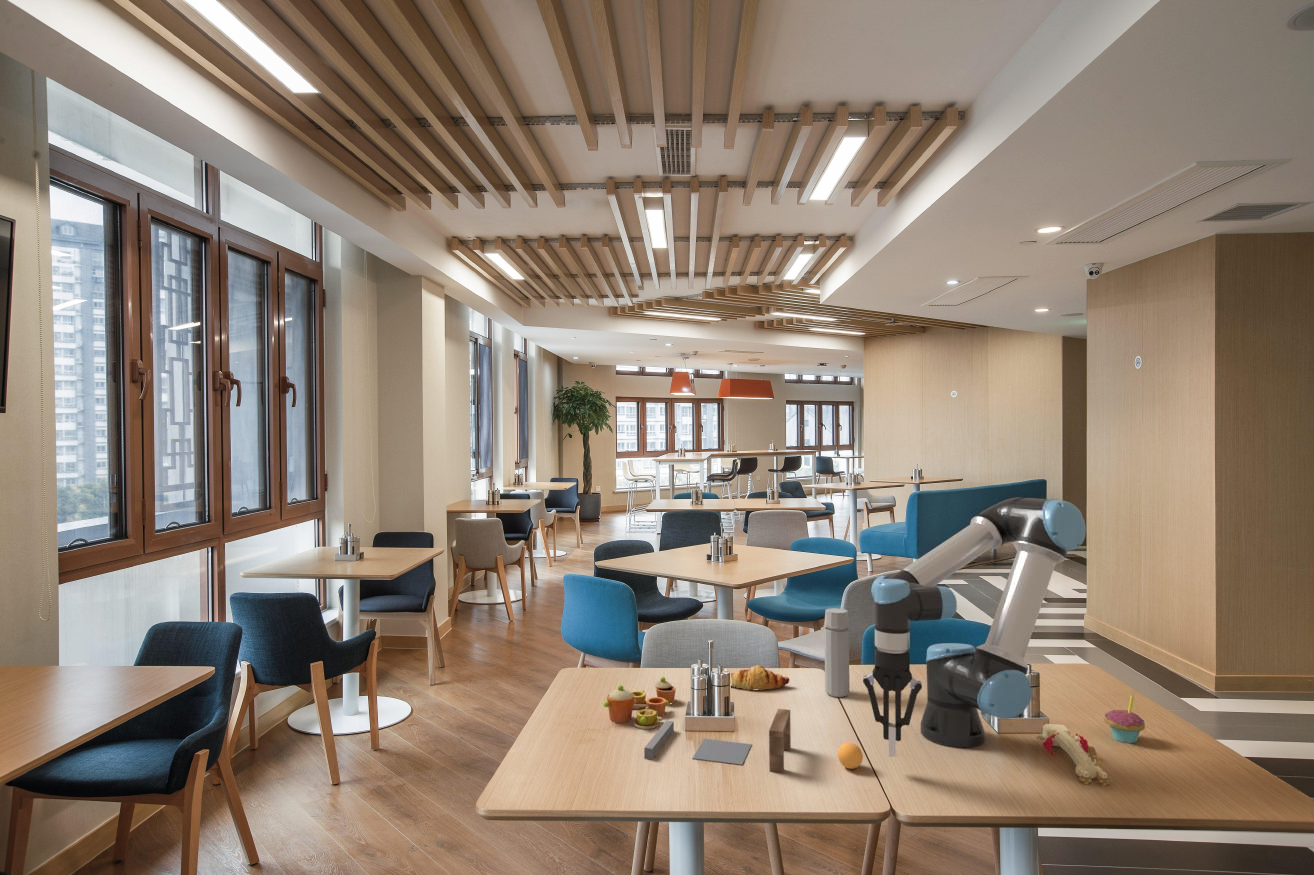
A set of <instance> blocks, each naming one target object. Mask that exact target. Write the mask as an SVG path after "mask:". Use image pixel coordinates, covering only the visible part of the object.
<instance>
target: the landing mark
mask: <svg viewBox="0 0 1314 875" xmlns="http://www.w3.org/2000/svg"><path fill="white" fill-rule="evenodd" d="M751 747H752V743H745V742H736V741H727V740H726V741H725V740H717V739H710V738H704V739H703V741H702V742H701V743H700V745H699V746H698V749H697V750H696V751H695V753H694V755H693V756H692V758H691V759H692V760H697V761H707V762H713V763H715V762H716V763H723V764H729V765H736V766H737V765H739V766H743V765H744V762H745V760H746V758H747V756H748V753H749V751H750V749H751Z"/></svg>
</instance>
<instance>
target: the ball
mask: <svg viewBox="0 0 1314 875" xmlns="http://www.w3.org/2000/svg"><path fill="white" fill-rule="evenodd" d="M837 757H838V761H839V762H840V764H841V765H842V766H843V767H844V768H846V769H848V770H849V769H850V770H853V769H857V768H859V766H860V767H861V765H862V763H863V760H864V759H863V758H864V756H863V752H862V750H861V748H860V747H859V746H858V745H857V744H855V743H853V742H845V743H843V744H842V745H841V746H840V747H839V748H838V750H837Z"/></svg>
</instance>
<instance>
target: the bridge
mask: <svg viewBox="0 0 1314 875" xmlns="http://www.w3.org/2000/svg"><path fill="white" fill-rule="evenodd" d="M791 734H792V733H791V710H790V709H786V708H785V709H784V708H777V710H776V713H775V715H774V718H773V720H772V723H771V725H770V727H769V730H768V739H769V740H768V745H769V747H768V750H769V751H768V752H769V753H768V754H769V755H768V756H769V764H768V765H769V772H771V773H780V774H783V773H784V770H785V751H788V752H790V751H791V748H792V747H791V746H792V745H791V742H792V741H791V739H792V738H791V737H792V736H791Z"/></svg>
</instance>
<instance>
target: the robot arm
mask: <svg viewBox="0 0 1314 875" xmlns="http://www.w3.org/2000/svg"><path fill="white" fill-rule="evenodd" d="M1086 528H1087V526H1086V522H1085V519H1084V518H1083V514H1082V512H1081V511H1080V509H1079V507H1077V506H1076V505H1075V504H1073V503H1071V502H1069V501H1066V500H1060V499H1057V498H1034V497H1033V498H1031V497H1021V496H1020V497H1019V496H1017V497H1012V498H1008V499H1005V500H1003V501H999V502H998V503H996V504H994V505H992V506H990V507H988V508H986V509H985V510H983V511H981V512H980V513H978V514H976V515H975V516H974V517H972V518H971V520H970V524H969V525H967V526H966V527H965V528H963V529H961V530H960V531H959V532H957V533H956V534H954V535H952V536H951V537H949V538H948V539H947V540H945V541H943V542H942V543H941V544H939V545H937V546H935V548H933V549H932V550H931V549H930V551H929V552H927V553H925V554H924V555H923V556H920V558H918V559H916V560H915V561H914V562H912V563H910V564H909V565H907V566H906V567H904V568H902V569H901V570H899V571H898V572H897V573H895V574H893V575H892V576H891V575H880V576H878V577H877V578H875V579H874V581H873V583H872V585H871V592H870V593H871V596H872V598H873V601H874V647H875V649H874V667H873V670H872V673H870V674H869V675H864V676H863V678H862V683H863V684H864V686H865V687H866V689H867V692H868V696H869V700H870V701H869V702H870V704H871V708H872V713H873V717H874V720H875V722H876V723H880V724H882V728H883V729H882V731H883V732H882V737H883V740H887V741H888V757H893V758H896V757H897V756H896V755H897V754H896V753H897V750H896V748H897V746H896V744H897V742H901V740H902V727H903V726H909V725H910V723H911V719H912V717H913V716H912V715H913V711H914V708H915V704H916V701H917V696H918V694H919V693H920V691H921V690H922V688H923V686H922V682H921V680H917V679H915V678H914V677H913V675H912V673H911V670H910V667H911V666H910V659H911V658H910V653H911V652H909V649H911V648H910V647H911V646H910V644H911V643H910V639H911V638H910V636H911V635H910V633H911V632H910V631H911V629H910V628H911V627H910V626H911V622H912V623H913V622H928V621H942V620H949V619H952V617H954V616H955V614H956V612H957V609H958V607H957V606H958V605H957V597H956V595H955V593H954V591H953V590H951V589H950V588H949V587H947V586H938V584H939V583H942V581H944V580H946V579H947V578H949V577H950V576H951V575H953V574H954V573H956V572H957V571H959V570H961V569H962V568H964V567H965V566H966V565H968V564H970V562H973V561H974V560H975V559H976V558H978V557H980V556H981V555H983V554H984V553H985V552H987V551H989V550H997V549H999V548H1001V547H1002V546H1004V545H1007V544H1009V543H1010V544H1011V543H1012V545H1013V547H1014V548H1015V550H1016V554H1015V557H1014V560H1013V563H1012V566H1011V569H1010V572H1009V574H1008V577H1007V580H1006V583H1005V586H1004V589H1003V591H1002V594H1001V597H1000V599H999V603H998V606H997V609H996V611H995V615H994V618H993V621H992V623H991V626H990V629H989V632H988V635H987V638H986V640H985V643H983V644H981V645H978V646H976V647H975V646H973V645H971V644H967V643H955V642H949V643H947V642H946V643H944V642H943V643H935V644H934V643H933V644H932V645H930V646H928V648H927V650H926V659H925V662H926V663H925V664H926V689H927V690H926V691H927V693H926V696H927V698H926V699H927V702H926V705H925V708H924V712H923V715H922V717H921V721H920V734H921V736H923V737H924V738H925V739H927V740H929V741H931V742H933V743H935V744H938V745H943V746H947V747H955V748H973V747H978V746H981V745H983V744H984V743H985V742H986V736H985V733H986V732H985V728H984V725H983V723H982V720H981V717H980V714H979V711H978V710H980V711H981V712H983V713H984V714H986V715H989V716H991V717H996V718H998V719H1003V720H1004V719H1005V720H1008V719H1010V720H1011V719H1013V718H1015V717H1016V716H1019V715H1021V714H1022V713H1024V711H1026V709H1027V708H1028V706H1029V704H1030V702H1031V699H1032V696H1033V688H1032V687H1031V686H1032V682H1031V680H1030V679H1029V677H1028V676H1027V673H1028V669H1029V667H1028V665H1027V663H1026V660H1025V656H1026V653H1027V650H1028V646H1029V643H1030V641H1031V639H1032V635H1033V633H1034V628H1035V626H1036V622H1037V619H1038V616H1039V614H1040V610H1041V607H1042V604H1043V602H1044V599H1045V596H1046V593H1047V590H1048V587H1049V584H1050V581H1051V579H1052V575H1053V572H1054V569H1055V567H1056V565H1057V564H1060V563H1063V562H1064V561H1065V560H1066V556H1067V554H1068V551H1073V550H1076V549H1077V548H1079V547H1080V546H1081V545H1082V544H1083V542H1084V541H1085V537H1086V530H1087V529H1086ZM875 681H876V682H877V684H878V685H879V686H880V688H881V689H882V691H883V693H882V694H883V696H882V698H883V700H882V701H883V702H882V704H883V705H882V706H883V708H882V709H883V711H882V713H883V714H882V715H881V712H880V708H879V703H878V699H877V695H876V691H875V687H874V684H875ZM909 683H910V684H909ZM908 685H909V686H910V692H909V697H908V700H907V704H906V708H905V711H904V712H905V713H904V714H903V715H904V716H903V717H902V691H904V689H905V688H906V687H907V686H908ZM891 691H892V692H894V706H895V708H894V711H895V712H894V713H895V714H894V715H895V716H894V717H895V718H894V719H895V720H894V722H890V692H891Z"/></svg>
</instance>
